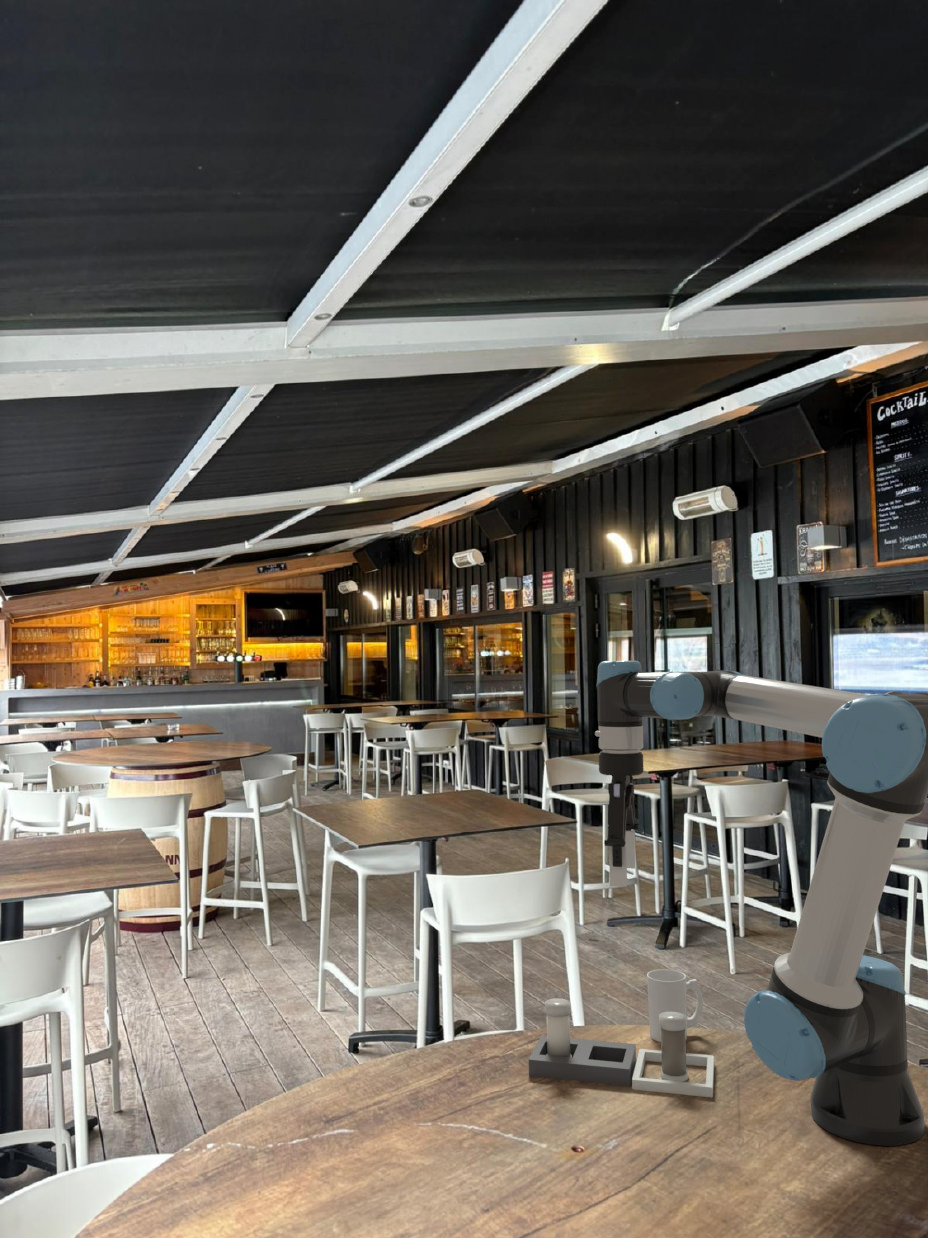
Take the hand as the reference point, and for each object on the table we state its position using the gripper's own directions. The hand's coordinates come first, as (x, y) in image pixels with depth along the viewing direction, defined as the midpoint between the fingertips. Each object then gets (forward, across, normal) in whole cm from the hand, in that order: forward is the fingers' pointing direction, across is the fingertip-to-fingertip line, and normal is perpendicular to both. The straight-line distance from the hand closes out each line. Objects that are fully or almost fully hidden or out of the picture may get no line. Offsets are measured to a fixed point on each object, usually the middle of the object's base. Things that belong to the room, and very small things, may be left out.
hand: (623, 876), depth 156 cm
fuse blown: (+30, +7, +8) cm, 32 cm away
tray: (+31, +7, +8) cm, 33 cm away
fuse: (+30, +7, -10) cm, 32 cm away
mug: (+31, -10, +8) cm, 34 cm away
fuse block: (+31, +7, -6) cm, 32 cm away
